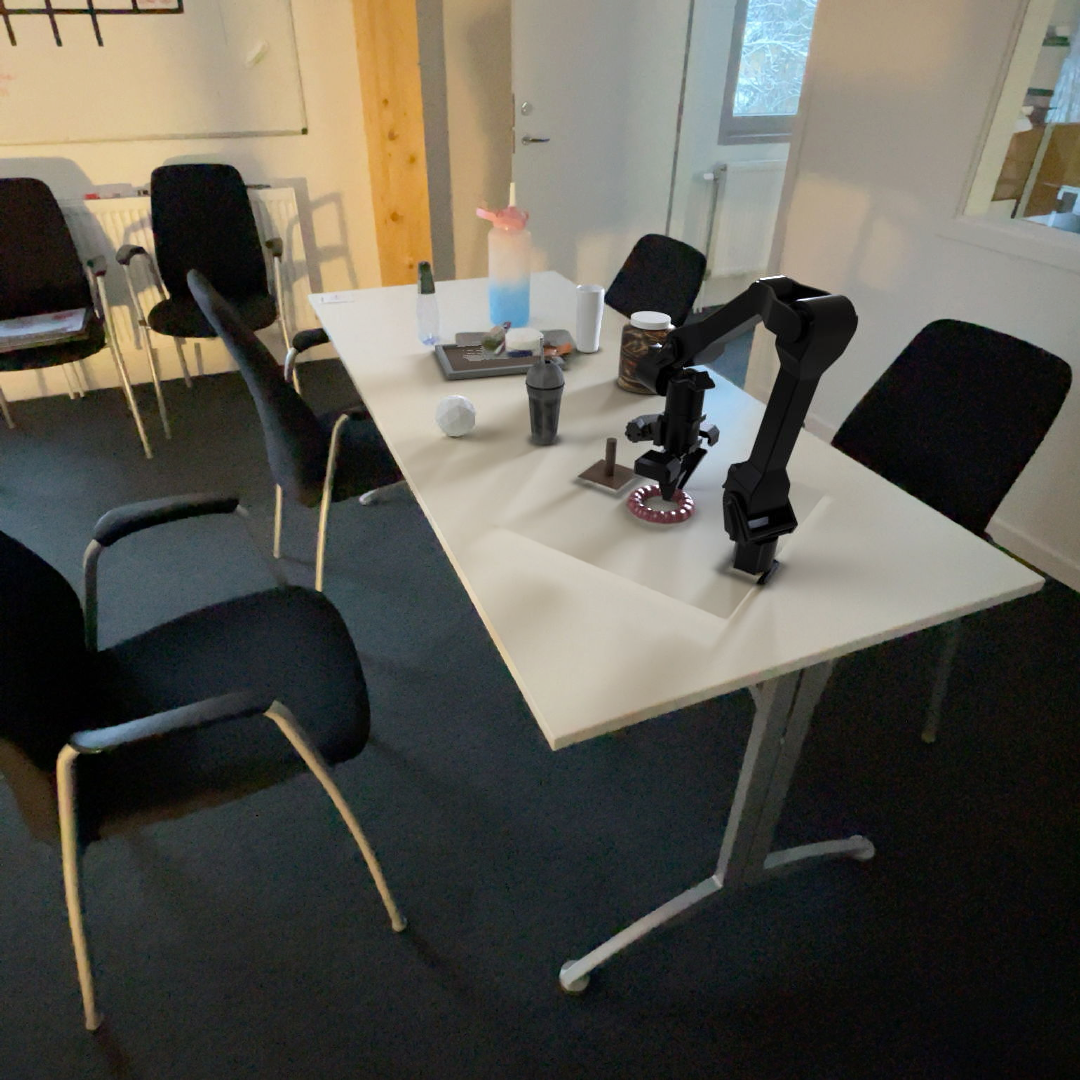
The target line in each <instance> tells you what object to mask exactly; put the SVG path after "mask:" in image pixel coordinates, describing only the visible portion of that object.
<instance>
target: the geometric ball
mask: <svg viewBox="0 0 1080 1080" xmlns="http://www.w3.org/2000/svg"><path fill="white" fill-rule="evenodd" d="M476 416H477V412H476V409H475V407H474V404H473V403H472V402H471V401H470V400H469V399H468V398H467V397H466V396H464V395H458V394H450V395H448V396H446V397H444V398H441V400H440V402H439V403H438V404H437V405H436V408H435V414H434V420H435V422H436V425H437V427H438V428H439V429H440V430H441V432H443V433H444V434H445V435H446V436H451V437H457V438H460V437H462V436H463V435H466V434H468V433H470V432H471V430H472V429H473V428H474V427H475V425H476Z"/></svg>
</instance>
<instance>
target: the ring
mask: <svg viewBox="0 0 1080 1080" xmlns="http://www.w3.org/2000/svg"><path fill="white" fill-rule="evenodd" d="M651 497H662V495H661V491H660V487H659V484H647V485H642V486H640V487H637V488H635V489H634V490H633V491H631V492H630V493H629V494H628V496H627V499H626V507H627V509H628V511H629V512H630V513H631V514H632V515H634V516H635V517H637V518H638V519H641V520H644V521H647V522H650V523H655V524H662V525H663V524H665V525H666V524H678V523H680V522H683V521H686V520H688V519H690V518H691V517H692V516H693V515H694V513H695V506H696V505H695V502H694V500H693V499H692V497H691V496H690V495H689V494H688V493H687V492H685V491H684V490H683V489H682V490H680V489H678V488H677V489H676V491H675V493H674V494H673V496H672V498H671V500H673V501H674V502H676V503H677V505H678V508H676V509H673V510H666V511H663V510H656V509H655V510H654V509H652V508H649V507H647V506H646V505H644V504H643V501H645V500H646V499H647V498H651Z"/></svg>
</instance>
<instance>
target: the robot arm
mask: <svg viewBox="0 0 1080 1080" xmlns="http://www.w3.org/2000/svg"><path fill="white" fill-rule="evenodd" d="M760 323H762V324H763V326H764V328H765V330H767V331H769V332H770V333H772V334H774V335H775V336H776V337H775V341H774V347H775V350H776V354H777V357H778V360H779V368H778V372H777V374H776V377H775V381H774V384H773V386H772V389H771V393H770V395H769V398H768V402H767V404H766V407H765V411H764V413H763V416H762V419H761V422H760V425H759V429H758V431H757V434H756V437H755V439H754V443H753V446H752V449H751V452H750V455H749V457H748V459H746V460H743V461H739V462H734V463H731V464H730V465H729V468H728V469H727V474H726V480H725V481H724V483H723V484H721V488H722V489H724V490H723V493H722V513H723V514H722V515H723V528H724V531H725V532H726V533H727V534H728V536H729V537H728V538H729V540H730V541H732V542H734V545H733V551H732V556H731V561H732V563H733V566H732V568H733V569H736V570H738V571H741V572H743V573H746V574H749V575H752V576H756V575H757V574H761V575H760V576H759V578H758V579H757V580H756V581H755V584H758V585H761V586H763V585H766V584H767V583H768V581H769V580H770V579H771V577H772V576H773V575H774V574H775V572H776V571H777V569H778V568H779V567H780V564H781V561H780V560H778V559H775V556H776V551H777V546H778V542H779V538H780V537H781V536H785V535H790V534H793V533H794V532H795V531H796V529H797V528H798V526H799V522H798V520H797V517H796V515H795V511H794V508H793V506H792V503H791V500H790V498H789V495H790V490H791V483H792V482H791V480H790V477H789V475H788V471H787V466H788V464H789V461H790V458H791V456H792V453H793V450H794V448H795V445H796V443H797V440H798V438H799V436H800V432H801V430H802V427H803V425H804V422H805V420H806V417H807V414H808V412H809V409H810V405H811V404H812V402H813V399H814V396H815V393H816V390H817V389H818V385H819V383H820V380H821V378H822V377H823V374H825V372H827V370H828V369H829V368H830V367H832V366H833V364H835V362H837V361H838V359H840V357H842V355H843V354H844V353H845V351H846V349H847V348H848V346H849V344H850V342H851V341H852V339H853V337H854V335H855V334H856V332H857V329H858V325H859V315H858V314H857V312H856V307H855V305H854V304H853V302H852V301H851V300H850V298H848V297H847V295H846V296H845V295H843V294H840V293H839V294H834V293H832V292H829V291H827V290H824V289H820V288H816V287H813V286H809V285H806V284H803V283H800V282H798V281H797V280H795V279H793V278H792V277H788V276H787V275H786V276H785V275H780V276H779V275H778V276H772V277H762V278H759V279H756V280H755V281H753V282H751V284H750V285H749V286H748V287H747V288H746V289H745V290H744V291H742V292H740V293H739V294H738V295H737V296H735V297H734V298H732V299H731V300H729V301H728V302H726V303H725V304H723V305H722V306H720V307H719V308H718V309H716V310H714V311H713V312H712V313H711V314H709V315H708V316H706V317H705V318H703V319H701V320H699V321H695V322H691V323H688V324H684V325H680V326H678V327H675V329H672V330H670V331H669V332H668V334H667V336H666V340H665V342H664V343H663V344H662V346H661V345H659V344H658V345H651V346H648V353H646V354H645V355H644V356H643V357H642V358H641V359H640V360H639V362H638V364H637V366H636V368H635V375H636V378H637V380H638V381H639V382H640V383H641V384H643V385H644V386H646V387H647V388H649V389H650V390H652V391H653V392H655V393H656V394H655V395H658V396H660V397H661V398H662V397H663V398H665V404H664V410H663V411H662V412H661V413H650V414H641V415H639V416H637V417H635V418H633V419H631V420H629V421H628V422H627V424H626V426H625V432H624V436H625V437H626V438H627V440H628V441H629V442H631V443H632V444H638V443H639V442H651V441H652V445H653V446H655V447H657V448H659V447H662V448H663V449H661V450H660V451H658V450H655V449H652V448H651V449H649V450H647V451H646V452H644V453H643V454H641V455H640V456H639V457H638V458H636V459H635V460H634V462H633V463H634V464H633V469H634V473H635V474H637V475H636V476H640V477H643V478H646V479H649V480H652V481H655V482H658V483H657V484H658V485H659V487H660V491H661V495H662V496H661V499H662V501H665V502H668V503H669V502H670V501H671V500H672V499H671V498H672V496H673V494H674V493H675V491H676V489H677V488H678V489H680V490H682V491H683V489H684V488H685V487H686V485H687V483H688V482H689V480H691V479H690V478H691V477H692V475H694V473H695V471H696V470H697V469H698V467H699V465H701V463H702V462H703V460H704V458H705V457H706V456H707V455H708V454H709V450H708V449H706V448H703V447H701V445H702V444H703V440H704V439H707V441H706V444H707V446H708V447H709V448H712V447H714V446H715V445H716V444H717V443H719V439H720V432H721V431H720V429H719V428H718V427H717V425H716V424H714V423H711V422H706V419H707V413H706V412H703V410H704V402H705V397H706V396H705V395H706V390H707V391H708V390H712V389H715V388H716V383H715V381H714V379H713V378H712V377H711V376H710V374H709V371H708V370H703V371H699V370H697V369H696V368H692V367H698V366H704V365H710V364H713V363H715V362H716V361H717V360H718V359H719V358H720V357H721V356H722V355H723V354H724V353H725V352H726V349H727V345H728V344H729V343H731V341H733V340H734V339H735V338H738V337H739V336H741V335H742V334H744V333H745V332H747V331H749V330H751V329H752V328H754V327H756V326H757V325H759V324H760Z"/></svg>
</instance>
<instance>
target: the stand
mask: <svg viewBox="0 0 1080 1080" xmlns="http://www.w3.org/2000/svg"><path fill="white" fill-rule="evenodd" d="M605 441H606V442H605V443H606V444H605V456H604V459H603V458H601V459H599V460H598V461H597V462H595V463H594V464H592V465H591V466H590V467H588V468H587V469H585V470H584V471H583V472H582V473H580V474H579V475H577V478H581V479H584V480H586V481H589V482H593V483H595V484H598V485H601V486H604V487H607V488H609V489H612V490H616V491H619V490H620V489H621V488H623V487H624V486H625V485H626V484H628V483H630V481H632V480H633V479H634V478H635V477H636V476H638V475H637V474H635V473H634V468H630V467H628V466H624V465H621V464H618V463H616V461H617V451H618V450H617V447H618V439H617V438H615V437H607V438H606V440H605Z"/></svg>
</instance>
